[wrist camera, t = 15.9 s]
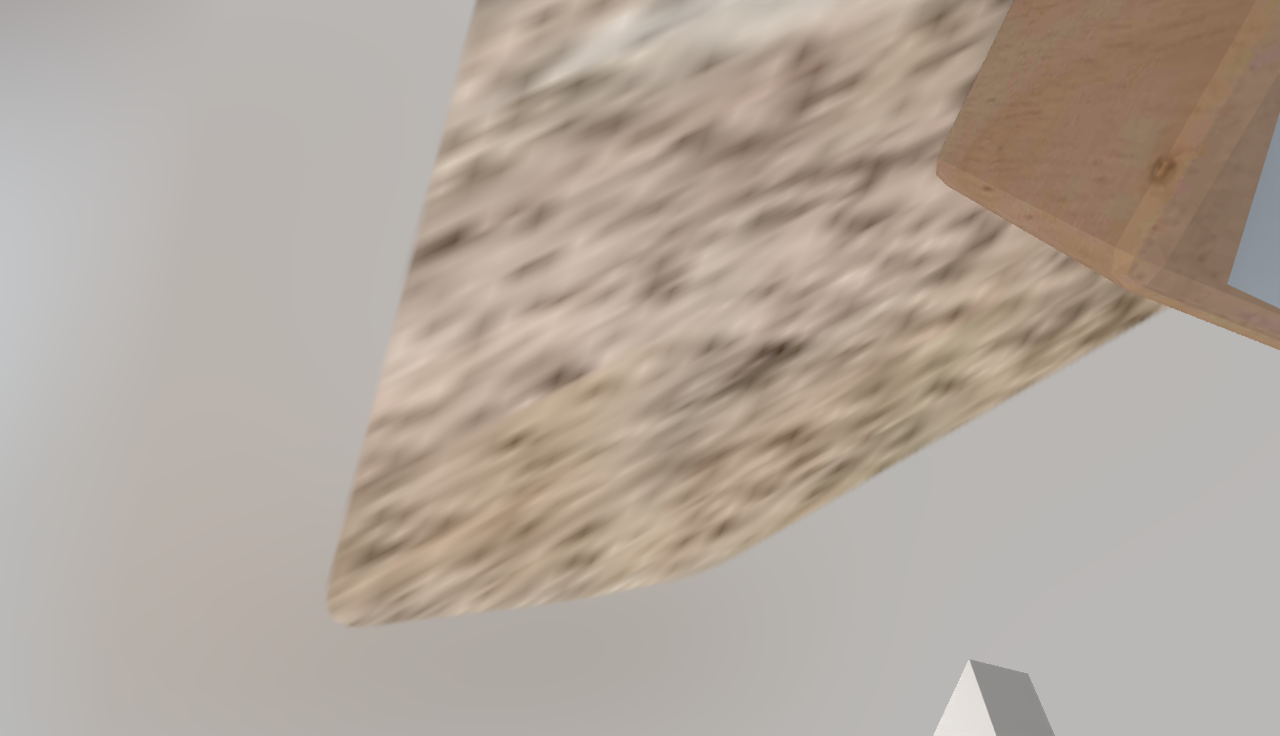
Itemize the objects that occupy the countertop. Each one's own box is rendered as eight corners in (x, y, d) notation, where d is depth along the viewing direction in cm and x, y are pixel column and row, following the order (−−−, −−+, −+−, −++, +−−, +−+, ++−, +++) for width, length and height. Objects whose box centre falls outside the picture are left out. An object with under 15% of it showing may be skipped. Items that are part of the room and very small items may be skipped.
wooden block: (922, 174, 45) (1112, 287, 26) (1023, -36, 41) (1325, -78, 23) (1103, 246, 46) (1410, 404, 27) (1216, 47, 43) (1655, 72, 24)
